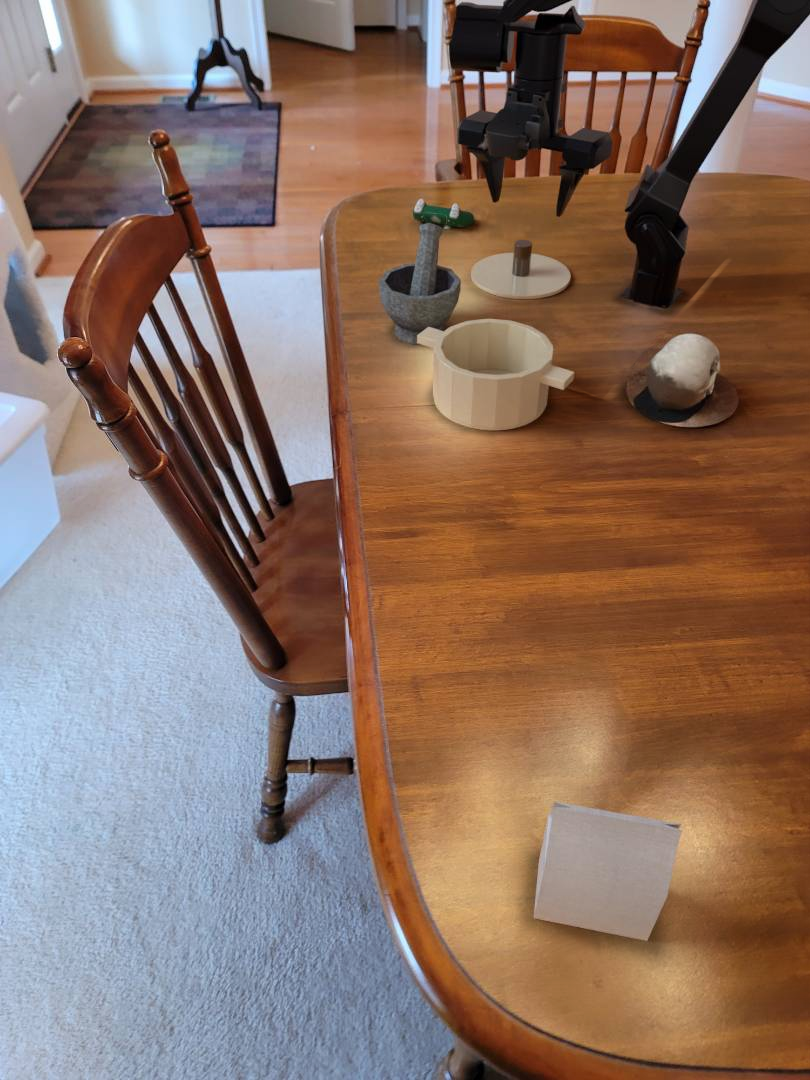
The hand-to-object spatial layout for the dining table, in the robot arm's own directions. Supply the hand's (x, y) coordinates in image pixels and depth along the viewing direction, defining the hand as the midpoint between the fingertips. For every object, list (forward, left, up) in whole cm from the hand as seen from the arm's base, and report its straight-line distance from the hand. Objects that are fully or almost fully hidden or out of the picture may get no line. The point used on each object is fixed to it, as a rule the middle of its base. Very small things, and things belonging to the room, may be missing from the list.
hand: (527, 208), depth 108 cm
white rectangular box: (+74, +44, -10) cm, 87 cm away
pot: (+28, +11, -10) cm, 32 cm away
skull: (+16, +29, -10) cm, 35 cm away
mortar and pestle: (+19, -4, -10) cm, 22 cm away
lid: (0, 0, -9) cm, 9 cm away
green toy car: (-10, -19, -10) cm, 24 cm away
